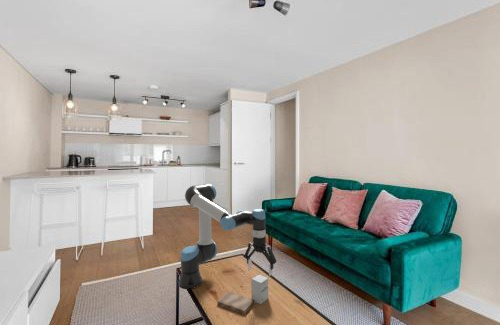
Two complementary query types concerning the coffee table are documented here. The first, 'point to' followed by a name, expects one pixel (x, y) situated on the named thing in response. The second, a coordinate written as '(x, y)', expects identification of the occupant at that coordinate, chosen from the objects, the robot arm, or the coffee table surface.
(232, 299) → the walnut board
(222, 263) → the coffee table surface
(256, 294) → the supplement box
